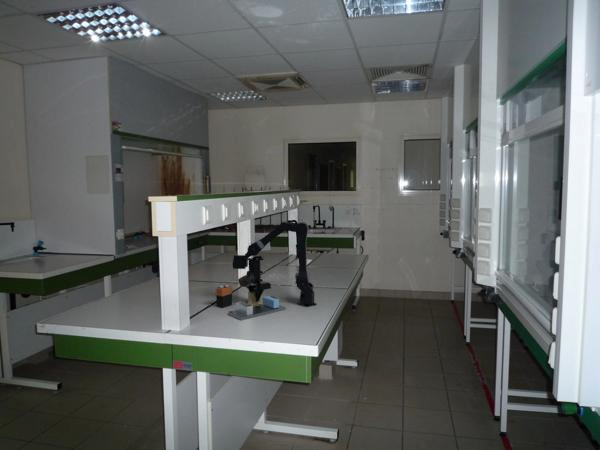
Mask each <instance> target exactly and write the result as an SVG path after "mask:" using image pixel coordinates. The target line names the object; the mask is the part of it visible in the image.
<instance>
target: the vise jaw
mask: <svg viewBox="0 0 600 450" xmlns="http://www.w3.org/2000/svg"><path fill="white" fill-rule="evenodd" d="M262 304H263V305H266V306H269V307H271V308H278V307H279V305H280V299H279V296H276V295H270V296H269V295H266V296H262Z"/></svg>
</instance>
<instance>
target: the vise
mask: <svg viewBox="0 0 600 450" xmlns="http://www.w3.org/2000/svg"><path fill="white" fill-rule="evenodd" d="M286 308H287V307H286V306H283V305H280V304H279V307H278V308H271V307H269V306H266V305H263V304H258V305H253V306H252V305H250V304H248V302H245V301H237V302H235V310H232V311H228V312H227V315H228V316H230V317H233V318H235V319H237V320H240V321H245V320H249V319H252V318H253V319H254V318H257V317H261V315H262V316H265V315H268V314H269V315H270V314H274V313H277V312H281V311H285V310H287V309H286Z"/></svg>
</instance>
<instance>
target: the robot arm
mask: <svg viewBox="0 0 600 450" xmlns="http://www.w3.org/2000/svg"><path fill="white" fill-rule="evenodd" d="M285 231H288V232H294V233H296V234H295V235H296V238H297V241H298V242H297V244H298V247H297V248H298V272H296V273H295V276H294V277H295V285H296V287H297V289H299V290H300V295H299V302H298V303H297V304H298V305H300V306H303V307H307V308H308V307H311V306H316V305H317V304H318V303H316V302H315V291H314V287H315V286H314V285H313V284H312V282H310V281H311V280H310V276H309V273H308V265H307V264H308V260H307V239H308V233H309V225H308V223H307V222H306V221H300V222H289V221H282V222H281V223H280V224H279V225H278V226H276V227H275V228H274V229H272V230H271V231H269V233H267V234H266V235H265V236H264V237H262V238H259V239H258V240H256V241H254V242H253V243H251V244H249V245H248V247H247V251H246V253H245V254H234V255H233V259H232V269H233V270H246V268H247V267H248V270H247V271H246V274H245V275H243V276H241V277H239V278H238V279H237V281H238V284H239V286H240V287H243V288H246V289H247V290H248V292H251V291H255V294H256V301H257V302H258V301H259V299H260V297H261V295H262V296H263V293H264V291H266V290H270V289H271V288H272V284H271V283H270V282H269V281H263V279H262V275H261V274H263V270H261V269H262V267H261V264H262V263H261V261H264V260H265V257H264V256H263V255H262V254H260V253H261V252H262V250H263V249H264V248H265V247H266V246H267V245H268V244H270V243H271V242H272V241H273V240H274V239H276V238H277V237H278V236H280V235H281V234H282V233H283V232H285ZM258 254H260V255H258ZM257 255H258V256H257Z"/></svg>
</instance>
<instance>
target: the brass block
mask: <svg viewBox="0 0 600 450" xmlns="http://www.w3.org/2000/svg"><path fill="white" fill-rule="evenodd" d="M262 297H263V294H262V295H261V297H260V299H259V301H258V302H257V301H256V294H255V291H251V292H249V291H248V292H247V304H250V305H252V306H257V305H261V304H262Z"/></svg>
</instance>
